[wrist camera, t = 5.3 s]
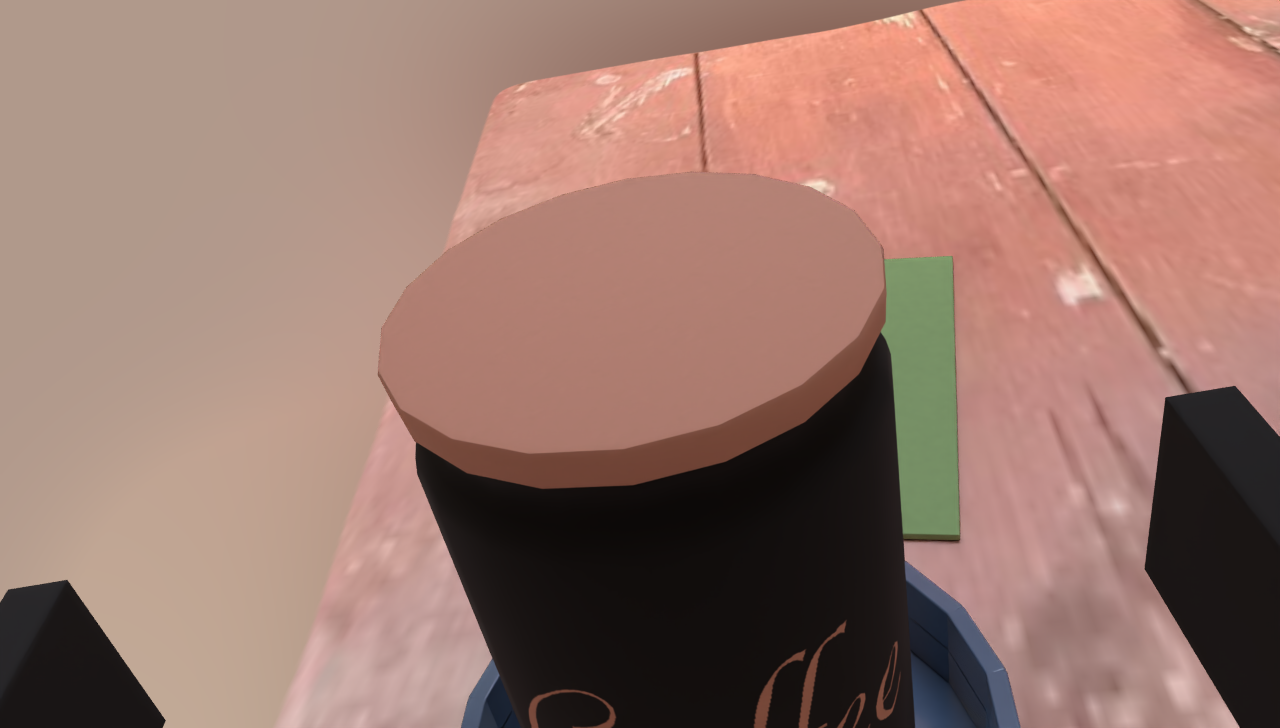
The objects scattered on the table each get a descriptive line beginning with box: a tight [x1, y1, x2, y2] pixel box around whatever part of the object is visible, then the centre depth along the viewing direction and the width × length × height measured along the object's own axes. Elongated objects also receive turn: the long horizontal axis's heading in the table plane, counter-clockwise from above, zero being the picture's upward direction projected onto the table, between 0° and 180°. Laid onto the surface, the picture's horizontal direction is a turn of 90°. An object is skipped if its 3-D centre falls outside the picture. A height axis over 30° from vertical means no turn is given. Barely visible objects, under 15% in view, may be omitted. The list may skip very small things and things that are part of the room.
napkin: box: [881, 256, 960, 540], centre depth 49 cm, size 20×20×1 cm
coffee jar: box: [378, 172, 915, 728], centre depth 27 cm, size 11×11×18 cm
